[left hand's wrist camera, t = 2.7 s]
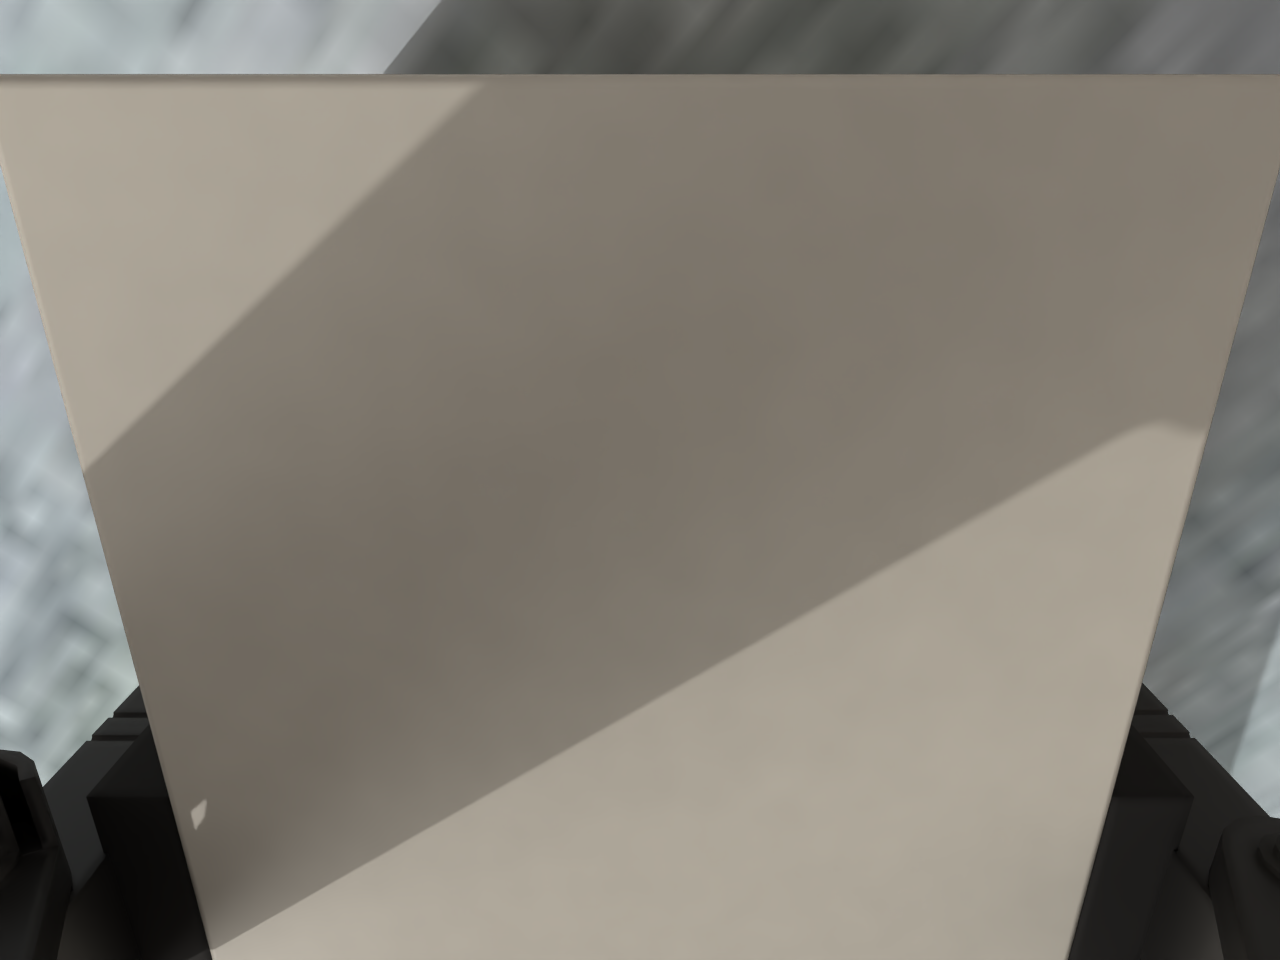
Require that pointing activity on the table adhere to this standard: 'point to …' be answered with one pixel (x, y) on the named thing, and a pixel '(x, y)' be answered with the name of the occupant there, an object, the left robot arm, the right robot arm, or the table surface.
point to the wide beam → (640, 485)
